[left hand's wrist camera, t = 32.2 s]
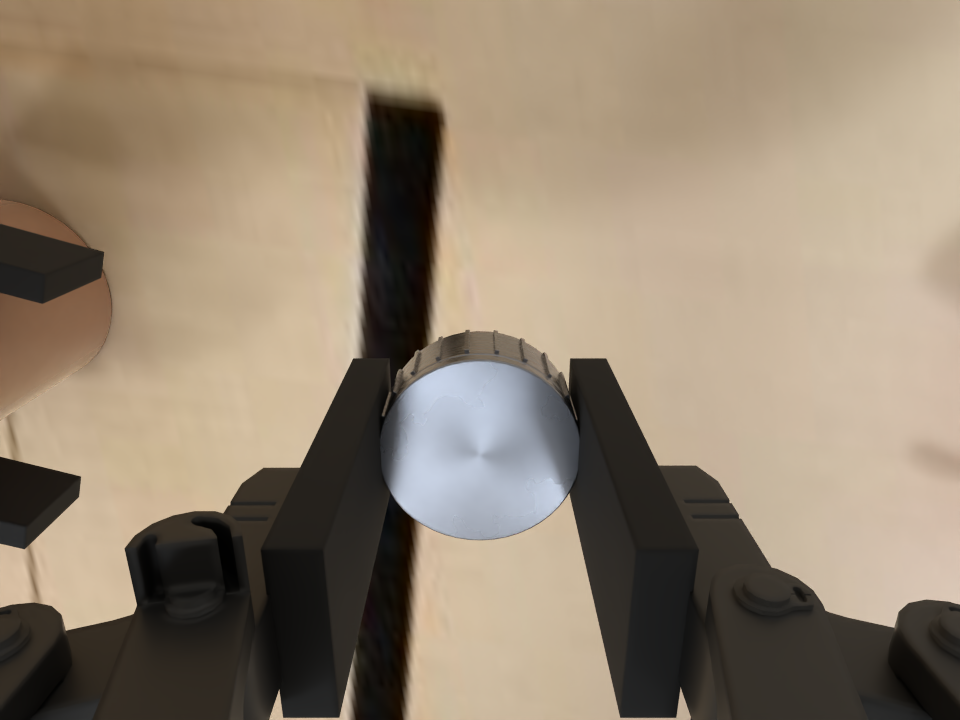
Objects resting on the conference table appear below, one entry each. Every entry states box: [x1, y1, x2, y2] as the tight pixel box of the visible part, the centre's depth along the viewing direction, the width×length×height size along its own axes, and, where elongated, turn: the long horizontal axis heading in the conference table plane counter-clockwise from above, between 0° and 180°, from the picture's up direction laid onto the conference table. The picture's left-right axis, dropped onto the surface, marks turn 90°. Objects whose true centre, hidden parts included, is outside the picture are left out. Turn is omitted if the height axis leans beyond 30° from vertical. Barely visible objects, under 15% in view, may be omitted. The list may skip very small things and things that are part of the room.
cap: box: [380, 330, 580, 540], centre depth 14 cm, size 4×4×2 cm
